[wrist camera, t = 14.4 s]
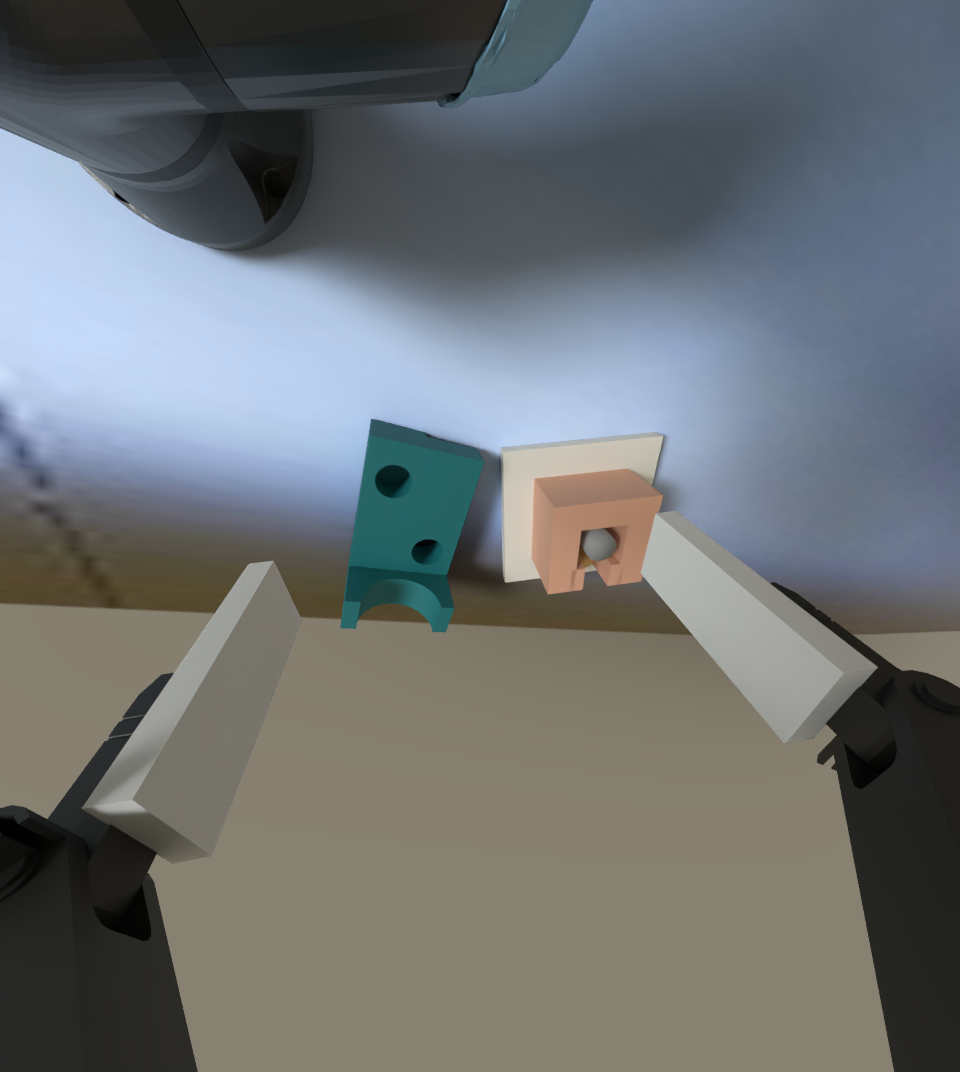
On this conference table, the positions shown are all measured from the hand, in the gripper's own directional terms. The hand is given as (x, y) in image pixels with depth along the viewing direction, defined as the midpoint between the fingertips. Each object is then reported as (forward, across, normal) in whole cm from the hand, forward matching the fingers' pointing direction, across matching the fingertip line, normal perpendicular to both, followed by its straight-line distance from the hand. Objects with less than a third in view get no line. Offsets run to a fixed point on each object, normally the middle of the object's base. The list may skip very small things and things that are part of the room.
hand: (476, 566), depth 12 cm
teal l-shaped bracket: (+27, -5, -11) cm, 30 cm away
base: (+27, +15, -14) cm, 34 cm away
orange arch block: (+25, +15, -14) cm, 32 cm away
